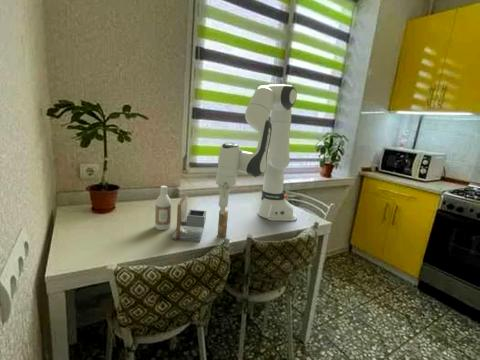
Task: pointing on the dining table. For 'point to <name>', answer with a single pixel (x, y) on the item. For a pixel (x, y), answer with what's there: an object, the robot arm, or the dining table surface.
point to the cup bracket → (189, 223)
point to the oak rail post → (222, 224)
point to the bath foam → (163, 210)
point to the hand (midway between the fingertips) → (222, 210)
